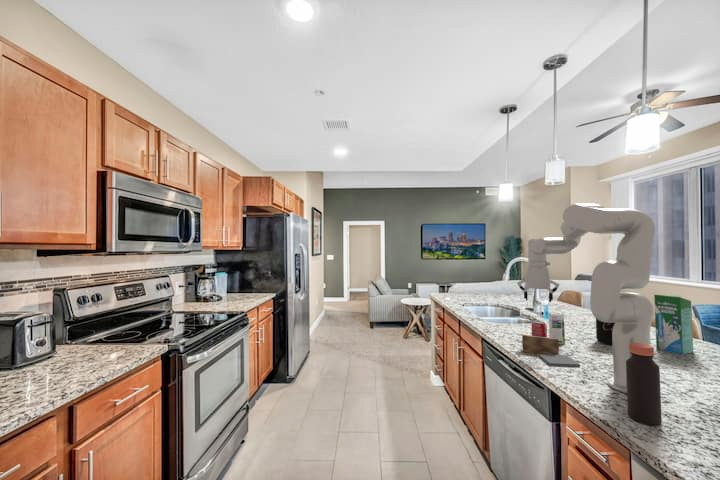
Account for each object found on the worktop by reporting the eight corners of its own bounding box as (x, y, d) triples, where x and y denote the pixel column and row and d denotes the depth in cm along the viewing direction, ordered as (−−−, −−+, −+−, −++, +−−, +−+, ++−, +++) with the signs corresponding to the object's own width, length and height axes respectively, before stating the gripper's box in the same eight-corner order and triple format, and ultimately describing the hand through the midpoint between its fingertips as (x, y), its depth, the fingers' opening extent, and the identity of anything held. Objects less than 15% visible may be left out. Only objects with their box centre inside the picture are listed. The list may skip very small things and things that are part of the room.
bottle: (639, 425, 81) (636, 348, 82) (621, 412, 88) (619, 341, 89) (668, 427, 80) (665, 349, 81) (648, 413, 87) (646, 342, 88)
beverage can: (543, 345, 149) (542, 320, 149) (550, 350, 142) (549, 323, 143) (529, 345, 149) (529, 320, 150) (535, 349, 143) (535, 323, 143)
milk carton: (693, 352, 138) (691, 295, 138) (682, 354, 134) (680, 296, 135) (667, 346, 146) (665, 293, 147) (656, 348, 143) (654, 294, 143)
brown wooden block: (558, 353, 138) (557, 337, 138) (559, 356, 133) (558, 340, 133) (522, 348, 144) (522, 333, 145) (522, 352, 140) (522, 336, 140)
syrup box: (551, 343, 152) (550, 313, 153) (549, 340, 158) (548, 311, 158) (565, 344, 150) (564, 314, 151) (562, 341, 155) (561, 312, 156)
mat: (580, 367, 122) (579, 364, 122) (549, 365, 123) (549, 363, 123) (565, 357, 133) (565, 355, 133) (538, 356, 134) (538, 353, 134)
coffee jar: (602, 345, 149) (601, 307, 149) (592, 339, 159) (591, 303, 159) (629, 347, 145) (627, 308, 146) (617, 340, 156) (616, 304, 156)
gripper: (558, 264, 146) (559, 301, 146) (517, 264, 155) (517, 298, 154) (559, 265, 140) (560, 303, 139) (516, 264, 148) (517, 300, 147)
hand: (538, 300), depth 147 cm, fingers open, 9 cm apart
